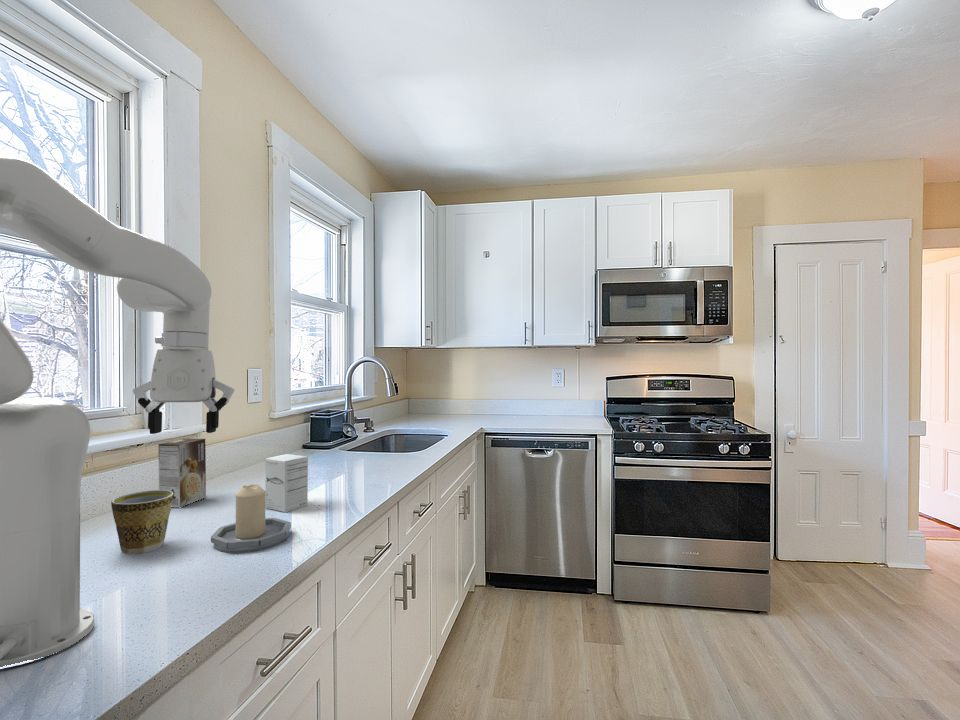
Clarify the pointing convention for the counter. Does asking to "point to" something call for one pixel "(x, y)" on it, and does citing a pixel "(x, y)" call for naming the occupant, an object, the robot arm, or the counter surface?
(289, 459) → the supplement box
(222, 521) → the counter surface
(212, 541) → the slate dish
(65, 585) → the robot arm
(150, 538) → the ceramic cup
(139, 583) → the counter surface
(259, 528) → the candle
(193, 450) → the coffee box
